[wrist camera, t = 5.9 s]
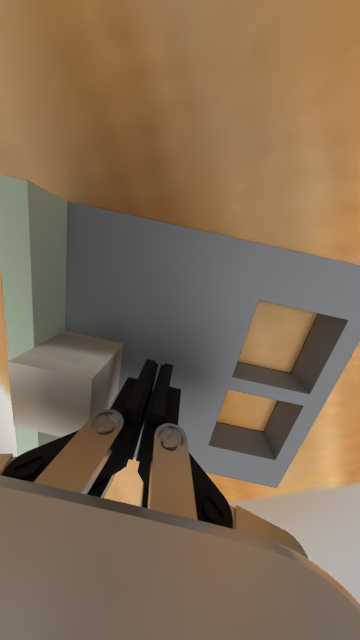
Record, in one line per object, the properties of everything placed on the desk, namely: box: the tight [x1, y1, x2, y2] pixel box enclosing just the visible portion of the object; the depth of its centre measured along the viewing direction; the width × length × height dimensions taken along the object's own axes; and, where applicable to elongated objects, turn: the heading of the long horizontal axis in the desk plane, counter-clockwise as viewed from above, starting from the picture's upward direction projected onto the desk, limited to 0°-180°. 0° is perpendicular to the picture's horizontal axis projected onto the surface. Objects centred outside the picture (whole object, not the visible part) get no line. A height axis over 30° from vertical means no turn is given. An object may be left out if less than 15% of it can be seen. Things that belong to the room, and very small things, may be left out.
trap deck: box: [0, 174, 360, 488], centre depth 13 cm, size 18×21×5 cm
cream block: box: [7, 331, 123, 437], centre depth 11 cm, size 4×4×4 cm
